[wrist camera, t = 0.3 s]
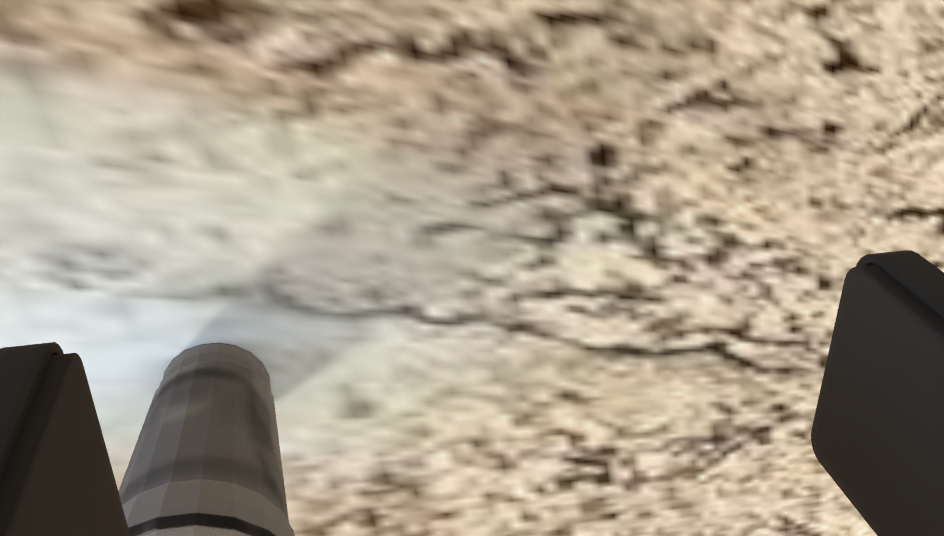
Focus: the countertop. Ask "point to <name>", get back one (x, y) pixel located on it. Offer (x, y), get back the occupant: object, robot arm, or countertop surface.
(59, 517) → the robot arm
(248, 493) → the beverage cup
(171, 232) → the countertop surface
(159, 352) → the countertop surface
